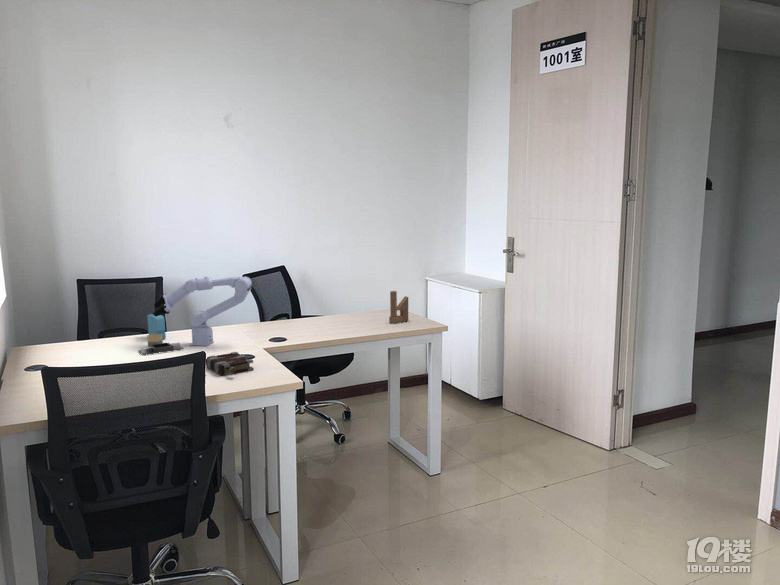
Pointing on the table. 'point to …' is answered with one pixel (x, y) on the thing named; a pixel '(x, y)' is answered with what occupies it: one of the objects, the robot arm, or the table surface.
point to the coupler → (154, 338)
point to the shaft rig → (160, 348)
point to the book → (229, 363)
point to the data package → (156, 325)
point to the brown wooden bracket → (398, 308)
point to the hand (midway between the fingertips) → (154, 310)
